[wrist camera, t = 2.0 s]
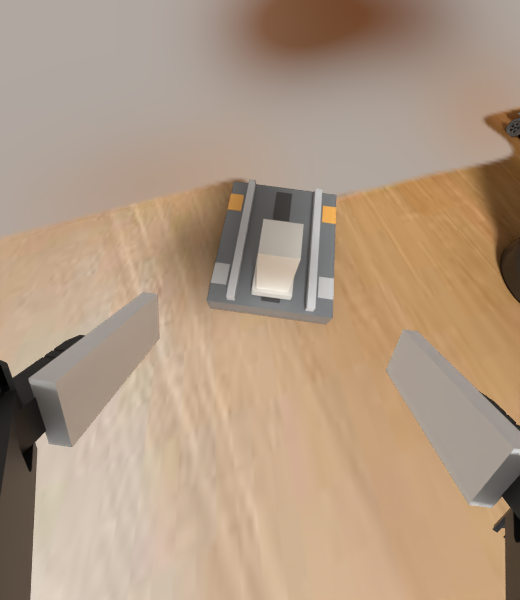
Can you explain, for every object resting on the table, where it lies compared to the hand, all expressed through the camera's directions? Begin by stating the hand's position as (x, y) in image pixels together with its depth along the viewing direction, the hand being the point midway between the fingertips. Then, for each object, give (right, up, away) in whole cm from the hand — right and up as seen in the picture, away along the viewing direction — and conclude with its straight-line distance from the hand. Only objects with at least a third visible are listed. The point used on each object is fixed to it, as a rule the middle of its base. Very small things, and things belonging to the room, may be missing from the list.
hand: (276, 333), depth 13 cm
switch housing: (+2, +9, +24) cm, 26 cm away
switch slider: (+1, +4, +19) cm, 19 cm away
